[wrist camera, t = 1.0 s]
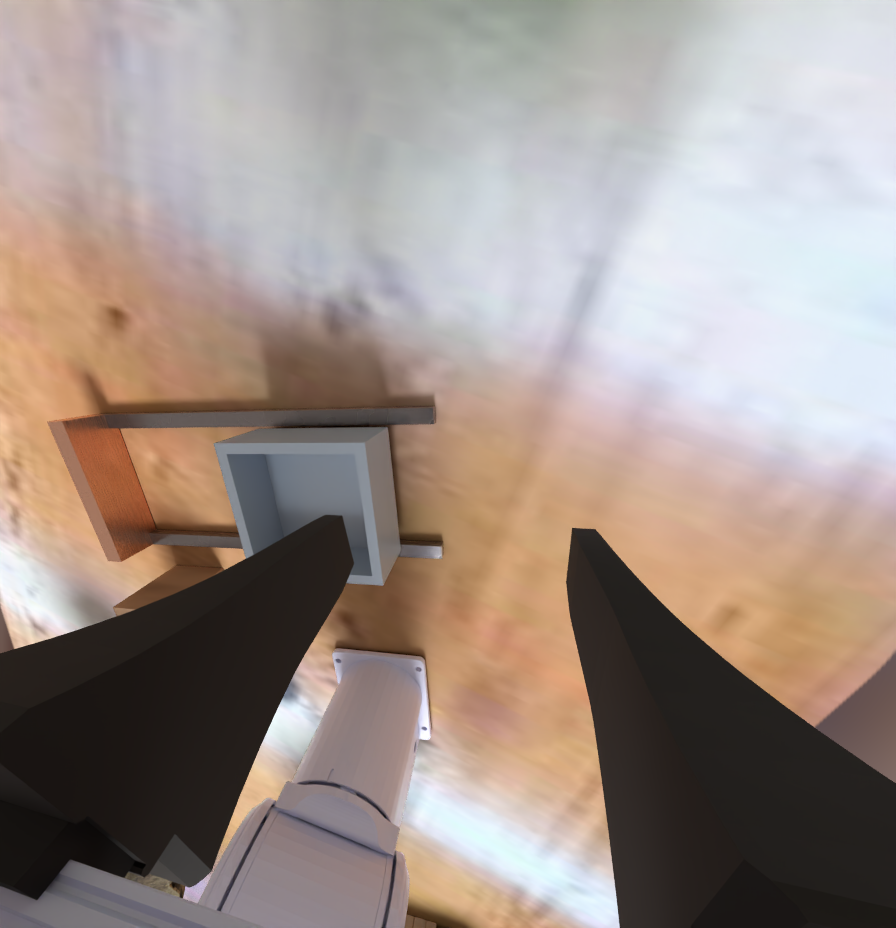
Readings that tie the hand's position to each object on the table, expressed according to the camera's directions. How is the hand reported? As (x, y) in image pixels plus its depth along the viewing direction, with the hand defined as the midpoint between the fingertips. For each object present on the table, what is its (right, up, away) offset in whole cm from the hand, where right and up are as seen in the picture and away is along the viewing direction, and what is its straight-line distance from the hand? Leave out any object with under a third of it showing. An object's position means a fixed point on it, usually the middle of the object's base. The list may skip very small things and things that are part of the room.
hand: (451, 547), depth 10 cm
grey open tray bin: (-8, +1, +13) cm, 15 cm away
